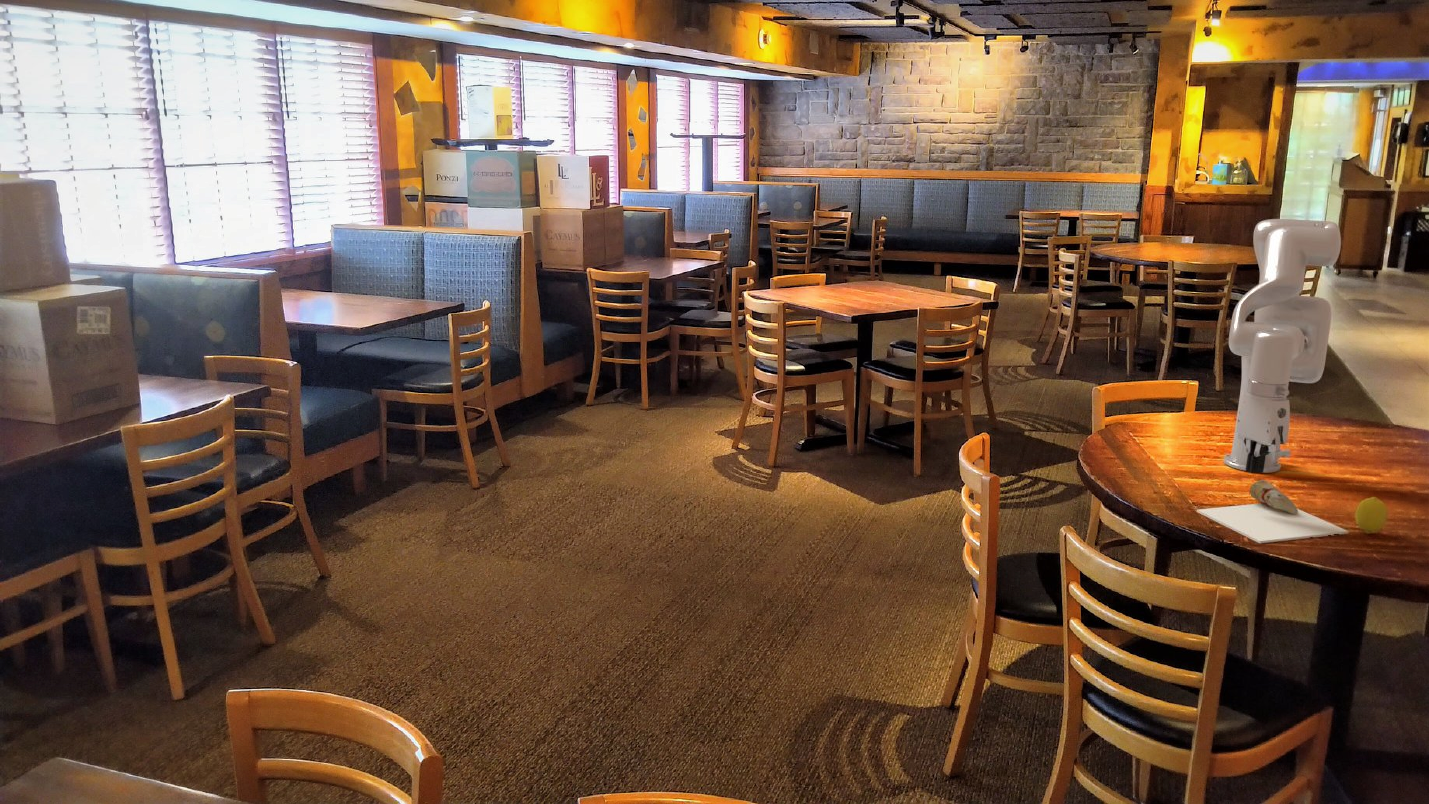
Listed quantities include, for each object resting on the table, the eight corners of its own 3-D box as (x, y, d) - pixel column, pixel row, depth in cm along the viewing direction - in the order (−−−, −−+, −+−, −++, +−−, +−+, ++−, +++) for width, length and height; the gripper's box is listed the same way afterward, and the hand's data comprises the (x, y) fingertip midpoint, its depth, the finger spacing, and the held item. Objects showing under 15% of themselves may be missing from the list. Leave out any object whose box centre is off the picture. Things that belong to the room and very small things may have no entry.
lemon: (1346, 528, 214) (1352, 492, 212) (1371, 528, 215) (1377, 492, 213) (1364, 539, 209) (1371, 502, 207) (1390, 538, 210) (1397, 501, 207)
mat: (1280, 503, 229) (1280, 501, 228) (1348, 533, 212) (1348, 531, 212) (1196, 511, 223) (1196, 509, 223) (1259, 543, 206) (1260, 541, 206)
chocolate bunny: (1263, 470, 225) (1305, 492, 218) (1271, 489, 230) (1311, 512, 222) (1246, 488, 225) (1286, 511, 217) (1253, 507, 230) (1294, 530, 222)
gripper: (1310, 397, 210) (1295, 482, 215) (1255, 379, 224) (1243, 460, 229) (1279, 399, 208) (1266, 484, 213) (1226, 381, 222) (1214, 462, 227)
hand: (1254, 471), depth 221 cm, fingers closed
